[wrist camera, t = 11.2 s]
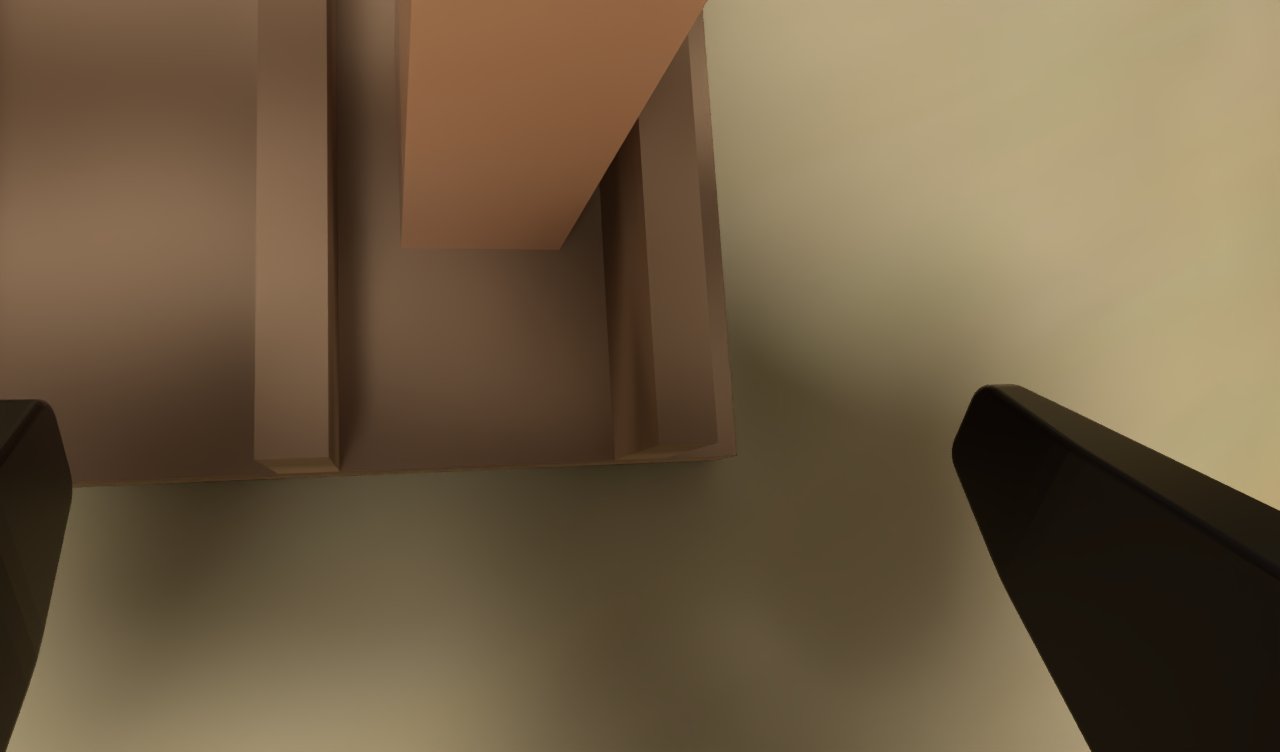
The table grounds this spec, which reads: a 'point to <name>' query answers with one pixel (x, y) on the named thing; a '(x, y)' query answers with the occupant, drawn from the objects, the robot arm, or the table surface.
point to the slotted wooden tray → (327, 262)
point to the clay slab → (519, 110)
